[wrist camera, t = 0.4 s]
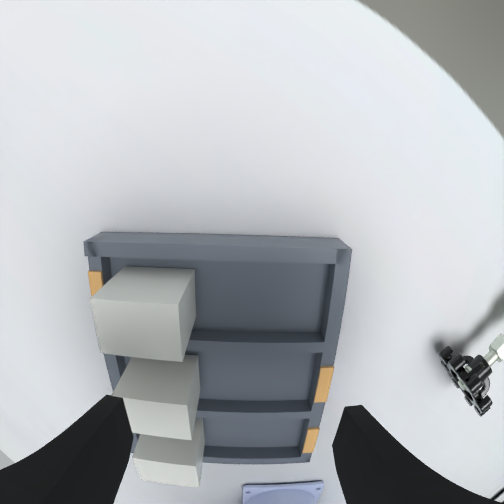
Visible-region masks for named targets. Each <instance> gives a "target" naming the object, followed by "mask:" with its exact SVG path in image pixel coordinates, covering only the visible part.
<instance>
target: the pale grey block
mask: <svg viewBox="0 0 504 504" xmlns="http://www.w3.org/2000/svg"><path fill="white" fill-rule="evenodd" d="M204 445H205V437H204V426H203V418H197V417H196V418H195V424H194V430H193V436H192V440H184V439H175V438H166V437H159V436H151V435H145V434H140V436H139V439H138V442H137V445H136V448H135V451H134V454H133V457H132V458H133V461H134V463H135V466H136V468H137V471H138V473H139V476H140V478H141V480H145V481H151V482H157V483H163V484H170V485H178V486H187V487H197V488H199V487H200V479H201V470H202V462H203V453H204Z"/></svg>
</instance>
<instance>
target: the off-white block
mask: <svg viewBox="0 0 504 504" xmlns="http://www.w3.org/2000/svg"><path fill="white" fill-rule="evenodd" d="M199 395H200V376H199V361H198V355H184V358H183V362H177V361H165V360H155V359H145V358H136V357H131V359H130V361H129V363H128V365H127V367H126V369H125V371H124V372H123V374H122V376H121V378H120V380H119V382H118V384H117V386H116V388H115V390H114V392H113V394H112V396H116V397H121V398H123V400H124V404H125V408H126V412H127V415H128V419H129V423H130V426H131V430H132V433H138V434H145V435H151V436H159V437H166V438H175V439H184V440H192V436H193V430H194V424H195V418H196V412H197V407H198V401H199Z"/></svg>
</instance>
